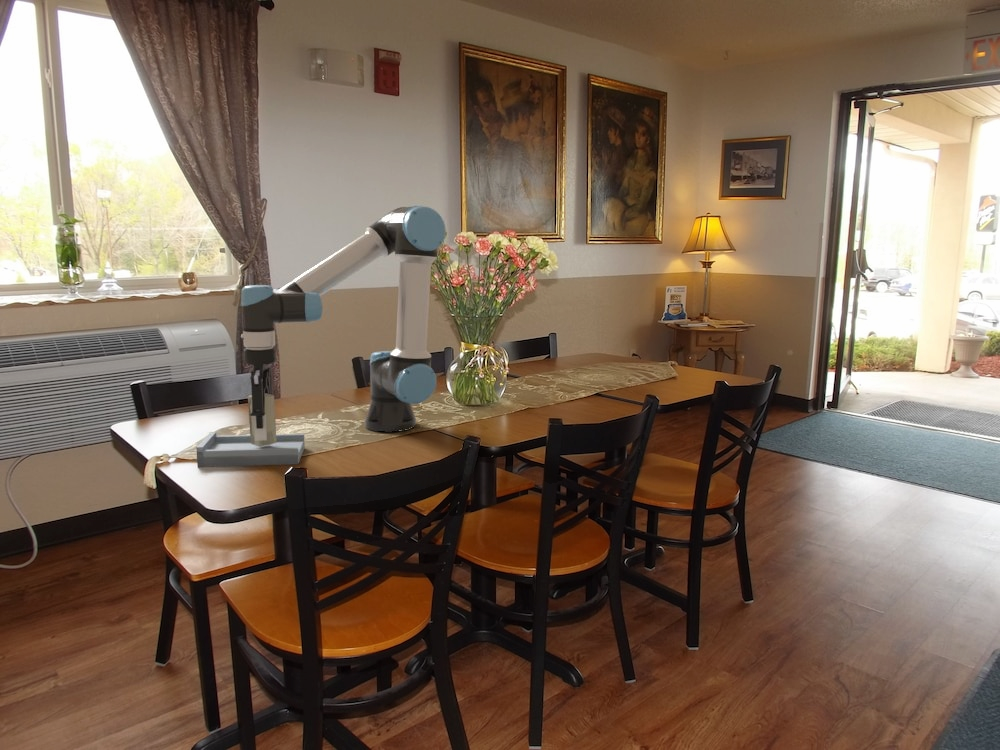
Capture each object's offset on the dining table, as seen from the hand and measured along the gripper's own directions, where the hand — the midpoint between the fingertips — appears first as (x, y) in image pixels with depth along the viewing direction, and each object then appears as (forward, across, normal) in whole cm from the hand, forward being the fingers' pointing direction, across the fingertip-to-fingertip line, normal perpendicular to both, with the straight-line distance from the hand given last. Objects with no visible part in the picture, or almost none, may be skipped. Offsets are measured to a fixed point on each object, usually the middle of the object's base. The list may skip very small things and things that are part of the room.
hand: (263, 436), depth 183 cm
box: (+2, 0, 0) cm, 2 cm away
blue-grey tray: (+6, 0, -3) cm, 6 cm away
